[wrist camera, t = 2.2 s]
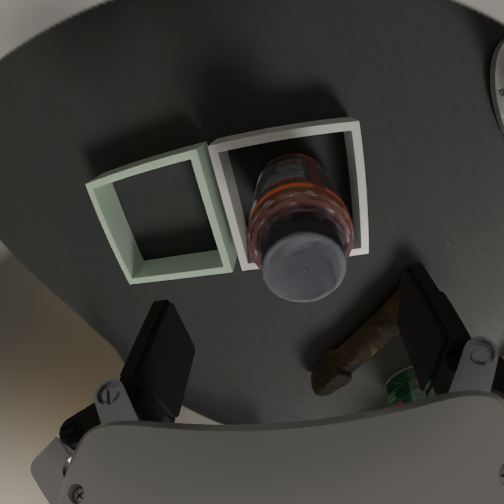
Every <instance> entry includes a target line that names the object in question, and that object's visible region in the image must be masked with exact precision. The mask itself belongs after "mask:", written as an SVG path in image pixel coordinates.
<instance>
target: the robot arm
mask: <svg viewBox="0 0 504 504" xmlns="http://www.w3.org/2000/svg"><path fill="white" fill-rule="evenodd" d="M490 89H491V97H492V102H493V107H494V111H495V114H496V118H497V121H498V123H499V126H500V128H501V130H502V132H503V134H504V39H503V40H502V41H500V42H499V44H498V45H497V47H496V48H495V50H494V53H493V56H492V60H491V66H490ZM397 326H398V329H399V331H400V334H401V336H402V339H403V342H404V344H405V347H406V349H407V352H408V355H409V358H410V360H411V363H412V366H413V369H414V372H415V375H416V377H417V380H418V383H419V386H420V389H421V391H422V392H423V391H425V393H426V396H427V398H424V399H420V400H416V401H412V402H408V403H404V404H400V405H396V406H391V407H386V408H382V409H377V410H372V411H367V412H362V413H357V414H351V415H345V416H338V417H332V418H324V419H316V420H308V421H298V422H287V423H272V424H250V425H204V424H182V423H174V421H175V417H178V416H179V413H180V409H181V405H182V401H183V397H184V393H185V389H186V385H187V381H188V377H189V374H190V370H191V366H192V362H193V358H194V354H195V347H194V344H193V342H192V340H191V338H190V336H189V334H188V332H187V330H186V328H185V326H184V324H183V322H182V320H181V318H180V316H179V314H178V312H177V310H176V308H175V306H174V304H173V303H170V302H169V301H168V300H161V301H155V302H154V303H153V304H152V307H151V309H150V311H149V313H148V315H147V317H146V319H145V321H144V323H143V325H142V328H141V330H140V332H139V334H138V336H137V338H136V340H135V343H134V345H133V347H132V349H131V351H130V354H129V356H128V358H127V360H126V363H125V365H124V367H123V370H122V372H121V374H120V375H121V377H120V380H116V379H110V380H107V381H105V382H103V383H102V384H100V385H99V387H98V388H97V389H96V391H95V394H94V403H93V404H91V405H90V406H88V407H86V408H85V409H83V410H82V411H80V412H78V413H77V414H75V415H74V416H72V417H70V418H69V419H67V420H66V421H65V422H64V423H63V425H62V426H61V428H60V433H59V434H60V438H59V439H58V438H57V437H56V438H55V439H54V440H53V441H52V442H51V443H50V444H49V445H48V446H47V447H46V448H45V449H44V450H43V451H42V452H41V453H40V454H39V455H38V456H37V457H36V458H35V459H34V461H33V462H32V465H31V473H32V475H33V477H34V479H35V481H36V482H37V484H38V486H39V487H40V489H41V491H42V492H43V494H44V495H45V497H46V498H47V500H48V501H49V503H50V504H504V359H503V358H500V357H498V353H499V352H498V349H497V347H496V345H495V344H494V342H492V341H491V340H490V339H488V338H486V337H481V336H479V337H474V338H471V337H470V335H469V333H468V332H467V330H466V328H465V326H464V324H463V323H462V321H461V319H460V318H459V316H458V314H457V313H456V311H455V309H454V308H453V306H452V304H451V303H450V301H449V300H448V298H447V296H446V295H445V294H444V292H442V291H441V292H440V291H439V289H438V288H437V286H436V285H435V283H434V282H433V280H432V279H431V277H430V275H429V274H428V273H427V271H426V270H425V268H424V267H423V265H422V264H421V263H416V264H410V265H407V267H406V269H404V270H403V271H402V280H401V290H400V298H399V306H398V314H397ZM434 395H436V396H434ZM431 396H432V397H431Z"/></svg>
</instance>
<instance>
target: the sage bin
mask: <svg viewBox="0 0 504 504" xmlns="http://www.w3.org/2000/svg"><path fill="white" fill-rule="evenodd" d="M189 159H191V162H192V165H193V169H194V172H195V176H196V179H197V182H198V186H199V189H200V192H201V196H202V199H203V202H204V206H205V209H206V212H207V215H208V219H209V222H210V225H211V228H212V232H213V235H214V238H215V241H216V244H217V247H218V250H212V251H205V252H199V253H192V254H185V255H179V256H172V257H166V258H159V259H153V260H146V261H144V260H143V257H142V255H141V253H140V251H139V248H138V246H137V244H136V241H135V239H134V237H133V234H132V232H131V229H130V227H129V225H128V222H127V220H126V217H125V215H124V212H123V210H122V207H121V205H120V202H119V199H118V197H117V194H116V191H115V189H114V186H113V183H112V182H114V181H117V180H120V179H123V178H126V177H129V176H133V175H136V174H139V173H142V172H146V171H149V170H153V169H156V168H159V167H163V166H167V165H170V164H174V163H178V162H181V161H185V160H189ZM85 185H86V187H87V190H88V193H89V195H90V198H91V200H92V203H93V205H94V208H95V210H96V213H97V215H98V218H99V220H100V222H101V225H102V227H103V229H104V232H105V234H106V236H107V238H108V240H109V243H110V245H111V247H112V249H113V251H114V254H115V256H116V258H117V260H118V262H119V264H120V266H121V268H122V270H123V272H124V274H125V276H126V278H127V280H128V282H129V284H137V283H146V282H154V281H163V280H172V279H180V278H189V277H197V276H205V275H213V274H221V273H229V272H233V269H234V265H235V261H236V257H237V251H236V247H235V244H234V240H233V237H232V233H231V229H230V226H229V222H228V219H227V215H226V212H225V208H224V205H223V201H222V197H221V194H220V190H219V187H218V183H217V179H216V176H215V172H214V168H213V165H212V161H211V157H210V154H209V150H208V144H207V141H206V142H202V143H198V144H194V145H190V146H186V147H183V148H179V149H176V150H172V151H169V152H165V153H162V154H158V155H155V156H152V157H149V158H145V159H142V160H139V161H136V162H133V163H130V164H127V165H124V166H121V167H118V168H116V169H113V170H110V171H107V172H105V173H102V174H101V175H99V176H98V177H96V178H94V179H93V180H91V181H90V182H88V183H86V184H85Z"/></svg>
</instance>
